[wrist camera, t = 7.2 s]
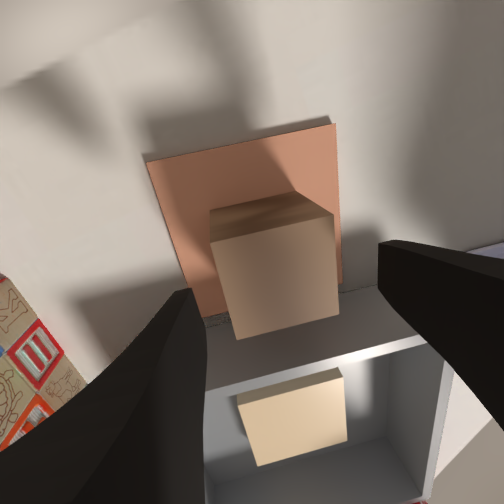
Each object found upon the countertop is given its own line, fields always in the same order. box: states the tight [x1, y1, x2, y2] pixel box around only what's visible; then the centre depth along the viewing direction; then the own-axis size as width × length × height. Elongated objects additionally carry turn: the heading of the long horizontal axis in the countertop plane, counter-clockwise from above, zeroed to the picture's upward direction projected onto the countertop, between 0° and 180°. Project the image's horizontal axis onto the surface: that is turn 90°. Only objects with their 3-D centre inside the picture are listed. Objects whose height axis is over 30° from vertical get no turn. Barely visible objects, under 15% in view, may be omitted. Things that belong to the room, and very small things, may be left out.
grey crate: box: [203, 284, 454, 504], centre depth 21 cm, size 20×20×6 cm
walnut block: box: [210, 191, 339, 340], centre depth 14 cm, size 5×5×5 cm
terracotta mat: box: [146, 123, 343, 318], centre depth 16 cm, size 10×10×1 cm
